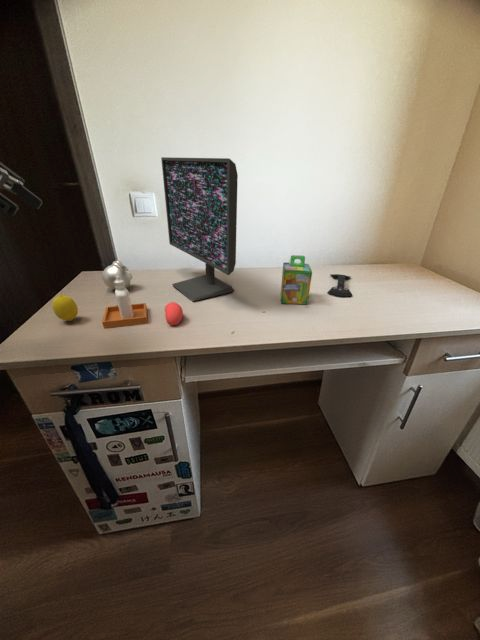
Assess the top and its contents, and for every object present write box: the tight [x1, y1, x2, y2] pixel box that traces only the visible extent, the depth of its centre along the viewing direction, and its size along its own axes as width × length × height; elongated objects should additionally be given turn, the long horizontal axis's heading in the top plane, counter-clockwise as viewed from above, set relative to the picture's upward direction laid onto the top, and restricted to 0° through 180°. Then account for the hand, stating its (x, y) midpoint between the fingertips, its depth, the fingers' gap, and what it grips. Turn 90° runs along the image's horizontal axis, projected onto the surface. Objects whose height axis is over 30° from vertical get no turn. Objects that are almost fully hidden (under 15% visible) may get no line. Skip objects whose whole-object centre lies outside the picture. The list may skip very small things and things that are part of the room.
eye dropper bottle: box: [114, 276, 134, 319], centre depth 79 cm, size 4×6×12 cm
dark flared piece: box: [327, 273, 353, 298], centre depth 111 cm, size 9×25×3 cm, turn 166°
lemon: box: [51, 294, 79, 322], centre depth 78 cm, size 6×6×8 cm
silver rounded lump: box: [101, 259, 133, 291], centre depth 98 cm, size 9×10×10 cm
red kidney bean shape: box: [164, 301, 184, 326], centre depth 82 cm, size 5×9×6 cm
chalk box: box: [280, 254, 313, 306], centre depth 95 cm, size 9×9×15 cm
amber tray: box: [101, 302, 148, 329], centre depth 82 cm, size 11×10×2 cm
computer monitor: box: [160, 156, 239, 302], centre depth 92 cm, size 44×16×40 cm, turn 37°
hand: (28, 208), depth 52 cm, fingers open, 8 cm apart
